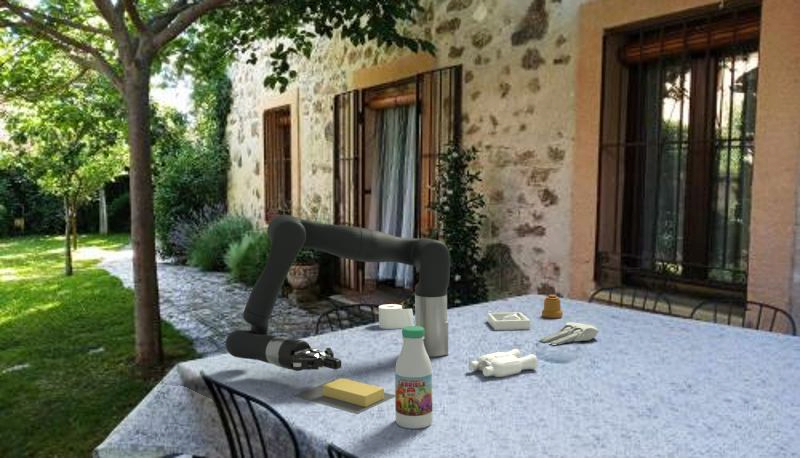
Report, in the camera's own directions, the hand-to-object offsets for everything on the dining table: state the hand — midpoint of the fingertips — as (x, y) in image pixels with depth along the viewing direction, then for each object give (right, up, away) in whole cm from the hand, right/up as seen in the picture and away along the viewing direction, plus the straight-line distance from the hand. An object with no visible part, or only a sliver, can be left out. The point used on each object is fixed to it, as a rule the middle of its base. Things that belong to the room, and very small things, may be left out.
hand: (339, 364), depth 145 cm
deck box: (-2, -6, +2) cm, 6 cm away
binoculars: (+41, -6, +18) cm, 46 cm away
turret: (+67, -3, +49) cm, 83 cm away
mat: (+1, -7, -1) cm, 8 cm away
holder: (+52, -2, +69) cm, 87 cm away
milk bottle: (+17, -9, -16) cm, 25 cm away
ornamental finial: (+70, -1, +82) cm, 108 cm away
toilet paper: (+13, -2, +69) cm, 71 cm away
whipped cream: (+53, -2, +69) cm, 87 cm away
